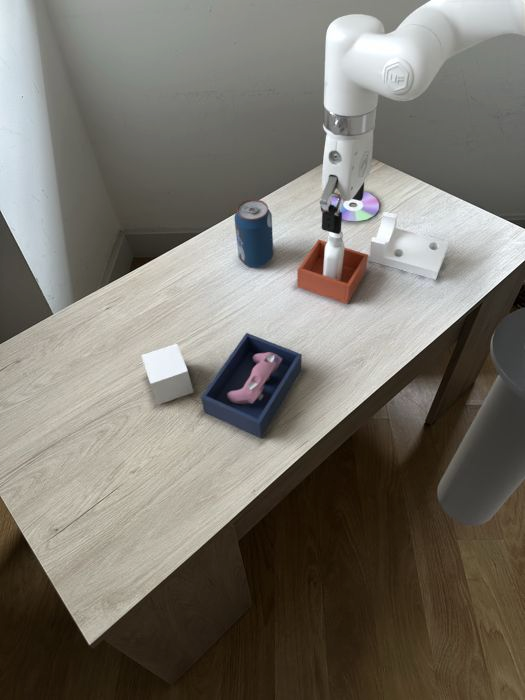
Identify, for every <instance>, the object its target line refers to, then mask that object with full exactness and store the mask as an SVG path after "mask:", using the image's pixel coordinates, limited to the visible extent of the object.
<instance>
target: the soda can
mask: <svg viewBox="0 0 525 700" xmlns="http://www.w3.org/2000/svg"><path fill="white" fill-rule="evenodd" d="M234 229H235V236H236V245H237V247H236V248H237V255H238V259H239V260H240V262H242V264H244V265H245V267H248V268H250V269H259V268H263V267H265V266H266V265H268V263H269V262H270V261H271V260H272V258H273V257H274V239H273V238H274V237H273V236H274V235H273V216H272V212H271V211H270V209H269V206H268V204H267V203H266V202H265V201H263V200H260V199H247V200H244V201H241V203H239V204H238V206H237V207H236V212H235V214H234Z"/></svg>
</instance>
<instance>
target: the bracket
mask: <svg viewBox="0 0 525 700" xmlns="http://www.w3.org/2000/svg"><path fill="white" fill-rule="evenodd" d="M397 221H398V214H396V213H391V212H387V211H383V213H382V215H381V221H380V225H379V228H378V231H377V233H376V236H375V237H374V236H372V238H371V239H370V253H369V262H372V263H375V264H379V265H382V266H386V267H389V268H393V269H397V270H400V271H403V272H407V273H411V274H414V275H418V276H422V277H425V278H428V279H432V280H435V281H436V280H437V278H438V275H439V272H440V270H441V268H442V265H443V263H444V260H445V257H446V255H447V252H448V248H449V245H450V241H447V240H444V239H439V238H435V237H432V236H428V235H425V234H421V233H416V232H412V231H408V230H405V229H402V228H398V227H397Z"/></svg>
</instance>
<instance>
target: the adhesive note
mask: <svg viewBox="0 0 525 700" xmlns="http://www.w3.org/2000/svg"><path fill="white" fill-rule="evenodd" d="M140 356H141V360H142V363H143V366H144V368H145V372H146V375H147V379H148V381H149V384H150V387H151V390H152V392H153V395H154V398H155V400H156V402H157V405H158V406H159V405H161V404H165V403H167V402H170V401H173V400H175V399H179V398H182V397H184V396H187V395H190V394H192V393H194V388H193V385H192V381H191V377H190V374H189V371H188V368H187V365H186V362H185V360H184V357H183V354H182V352H181V350H180V348H179V344H178V343H174V344H171V345H167V346H165V347H161V348H159V349H156V350H153V351H150V352H146V353H143V354H141V355H140Z"/></svg>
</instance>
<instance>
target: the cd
mask: <svg viewBox="0 0 525 700" xmlns="http://www.w3.org/2000/svg"><path fill="white" fill-rule="evenodd" d="M335 193H336V194H340V193H339V191H338V192H335ZM337 202H338V198H334V197H332V199H331V205H334V206H335V207H336V205H337ZM353 203H354V204H356V206H354V207H352V206H351V204H353ZM379 210H380V202H379V201H378V199H377V198H376V197H375V196H374V195H373V194H371V193H370V192H368V191H364V192H363V199H362V200H361V201H358V200H354V199H351V200H349V201H346V200H343V203H342V207H341V210H340V212H342V221H347V222H362V221H367V220H369V219H372V218H373V217H375V216H376V214H377V213H378V212H379Z"/></svg>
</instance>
